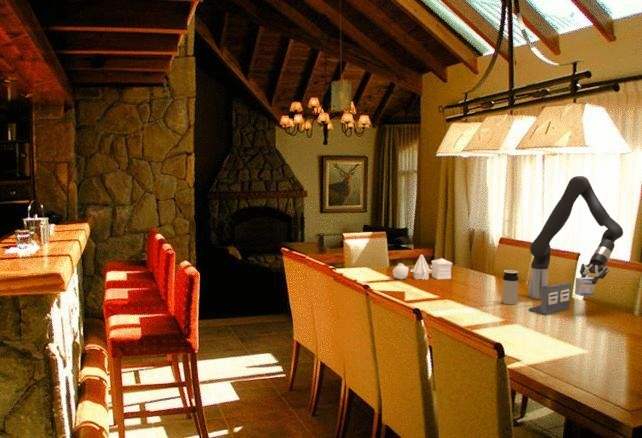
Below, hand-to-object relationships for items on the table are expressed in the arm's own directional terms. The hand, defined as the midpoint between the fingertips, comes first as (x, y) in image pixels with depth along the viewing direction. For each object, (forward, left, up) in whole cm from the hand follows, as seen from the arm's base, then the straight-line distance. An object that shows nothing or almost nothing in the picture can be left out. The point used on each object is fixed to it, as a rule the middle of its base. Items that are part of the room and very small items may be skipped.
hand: (587, 282), depth 302 cm
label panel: (-16, -7, -17) cm, 24 cm away
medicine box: (-1, -1, -7) cm, 7 cm away
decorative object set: (-118, +3, -17) cm, 119 cm away
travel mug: (-38, -11, -17) cm, 43 cm away
